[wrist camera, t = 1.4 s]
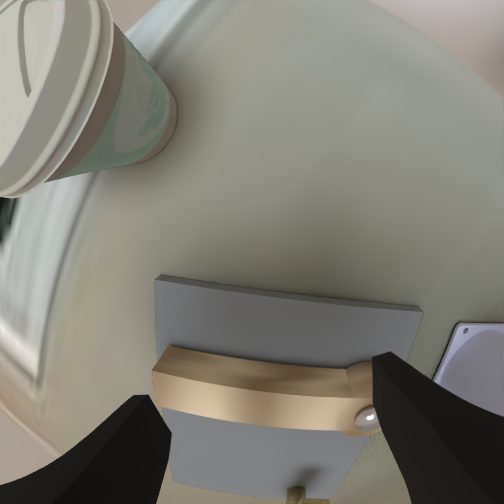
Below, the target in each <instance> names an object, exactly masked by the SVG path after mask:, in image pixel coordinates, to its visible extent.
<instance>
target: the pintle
mask: <svg viewBox="0 0 504 504" xmlns="http://www.w3.org/2000/svg"><path fill="white" fill-rule="evenodd" d="M355 423H356V427H357V429H358V430H360V431H363V432H369V431H373V430H376V429H378V428H380V424H379V421H378V418H377V415H376V412H375V408H374V406H372V407H369V408H366V409H364V410H362V411H361V412H360V413H359V414H358V415H357V416H356V418H355Z"/></svg>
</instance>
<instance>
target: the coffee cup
mask: <svg viewBox="0 0 504 504" xmlns="http://www.w3.org/2000/svg"><path fill="white" fill-rule="evenodd" d="M176 122H177V105H176V101H175V98H174V96H173V94H172V92H171V91H170V90H169V88H168V87H167V86H166V85H165V83H164V82H163V81H162V79H161V78H160V77H159V76H158V75H157V73H156V72H155V71H154V70H153V68H152V67H151V66H150V65H149V64H148V62H147V61H146V60H145V59H144V58H143V56H142V55H141V54H140V53H139V51H138V50H137V49H136V48H135V47H134V46H133V44H132V43H131V42H130V41H129V40H128V38H127V37H126V36H125V35H124V34H123V33H122V31H121V30H120V29H119V28H118V27H117V26H116V24H115V23H114V22H113V17H112V13H111V10H110V7H109V5H108V3H107V2H106V0H7V1H6V2H5V3H4V4H3V5H2V6H1V7H0V197H5V198H17V197H21V196H24V195H26V194H28V193H30V192H32V191H33V190H35V189H36V188H38V187H39V186H40V185H42V184H43V183H45V182H49V181H53V180H57V179H61V178H66V177H70V176H74V175H79V174H83V173H88V172H93V171H98V170H103V169H108V168H113V167H119V166H124V165H130V164H135V163H140V162H144V161H146V160H148V159H150V158H152V157H154V156H155V155H156V154H158V153H159V152H160V151H161V150H162V149H163V148H164V147H165V146H166V144H167V143H168V141H169V140H170V138H171V136H172V134H173V132H174V129H175V126H176Z"/></svg>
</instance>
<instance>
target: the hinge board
mask: <svg viewBox="0 0 504 504" xmlns="http://www.w3.org/2000/svg"><path fill="white" fill-rule="evenodd" d="M423 313H424V312H423V311H422V310H421V309H420V308H419V307H418V306H410V305H398V304H387V303H376V302H365V301H355V300H346V299H336V298H327V297H318V296H309V295H301V294H292V293H284V292H276V291H269V290H261V289H253V288H246V287H239V286H232V285H225V284H218V283H211V282H204V281H197V280H191V279H184V278H178V277H172V276H166V275H160V276H158V277H157V278H156V279H155V321H156V343H157V359H158V360H159V359H160V357H161V356H162V354H163V353H164V351H165V350H166V348H167V347H168V346H173V347H178V348H183V349H187V350H193V351H198V352H203V353H209V354H214V355H220V356H226V357H232V358H239V359H246V360H253V361H260V362H268V363H276V364H285V365H295V366H305V367H317V368H331V369H347V368H348V367H350V366H352V365H355V364H358V363H362V362H372V357H373V356H376V355H380V354H383V353H386V352H389V351H391V352H392V353H394V354H395V355H397V356H398V357H400V358H401V359H402V360H404V361H405V362H406V360H407V358H408V355H409V353H410V350H411V347H412V345H413V342H414V339H415V336H416V334H417V331H418V328H419V325H420V322H421V319H422V316H423ZM162 413H163V420H164V421H165V423H166V425H167V426H168V428H169V429H170V431H171V432H172V438H171V447H170V454H169V461H170V467H171V473H172V478H173V482H176V483H180V484H184V485H188V486H192V487H197V488H202V489H207V490H212V491H217V492H223V493H229V494H236V495H243V496H251V497H261V498H273V499H286V493H287V489H288V488H290V487H293V486H302V487H305V488H306V498H316V499H329V500H330V498H331V497H332V496H333V494H334V493H335V492H336V490H337V489H338V487H339V486H340V484H341V483H342V481H343V480H344V478H345V477H346V475H347V474H348V472H349V471H350V469H351V468H352V466H353V465H354V463H355V461H356V460H357V458H358V457H359V455H360V453H361V452H362V450H363V448H364V447H365V445H366V443H367V441H368V440H369V438H370V436H371V435H368V436H363V437H353V436H348V435H345V434H343V433H342V432H340V431H335V430H306V429H291V428H279V427H269V426H260V425H252V424H245V423H238V422H232V421H226V420H220V419H214V418H209V417H204V416H199V415H194V414H190V413H185V412H181V411H177V410H173V409H169V408H165V407H162Z"/></svg>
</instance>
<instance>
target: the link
mask: <svg viewBox="0 0 504 504" xmlns="http://www.w3.org/2000/svg"><path fill="white" fill-rule="evenodd" d="M152 378H153V387H154V396H155V404H156V405H157V406H161V407H165V408H169V409H173V410H177V411H181V412H185V413H190V414H194V415H199V416H204V417H209V418H214V419H220V420H226V421H232V422H238V423H245V424H252V425H260V426H269V427H279V428H291V429H306V430H335V431H340V432H342V433H343V434H345V435H348V436H353V437H363V436H368V435H372V434H375V433H378V432H380V431H382V429H381V427H380V428H378V429H376V430H373V431H369V432H363V431H360V430H358V429H357V427H356V423H355V418H356V416H357V415H358V414H359V413H360V412H361V411H362V410H364V409H366V408H369V407H372V406H374V405H373V402H372V394H373V387H372V362H362V363H358V364H355V365H352V366H350V367H348V368H347V369H331V368H317V367H305V366H295V365H285V364H276V363H268V362H260V361H253V360H246V359H239V358H232V357H226V356H220V355H214V354H209V353H203V352H198V351H193V350H187V349H183V348H178V347H173V346H168V347H167V348H166V350H165V351H164V353H163V354H162V356H161V357H160V359H159V360H158V362H157V363H156V365H155V366H154V368H153V369H152Z"/></svg>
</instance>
